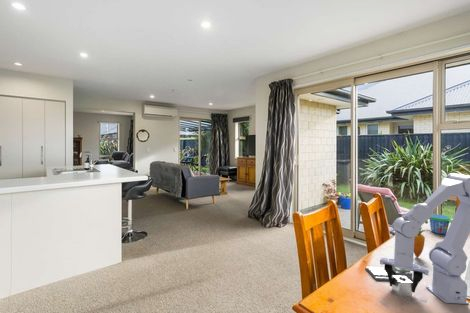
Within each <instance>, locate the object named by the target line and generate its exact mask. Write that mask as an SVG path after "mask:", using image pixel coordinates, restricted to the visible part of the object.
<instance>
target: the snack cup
mask: <svg viewBox="0 0 470 313" xmlns="http://www.w3.org/2000/svg"><path fill="white" fill-rule="evenodd" d="M452 220H453V219H451V217H450V216H447V215H442V214H435V213H433V216H432V217H431V218H429V219H428V220H427V221H426V222H425V223H424V224H428V223H429V227H430V231H431V232H432V233H434V232H435V234H438V233H439V234H438V235H446V234H447V231H448V229H449V227H450V223H451V222H452Z"/></svg>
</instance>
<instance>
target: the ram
mask: <svg viewBox="0 0 470 313" xmlns="http://www.w3.org/2000/svg"><path fill="white" fill-rule="evenodd" d="M392 270H393V271H394V272H411V271H410V270H406V269H401V268H397V267H393V266H392Z"/></svg>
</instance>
